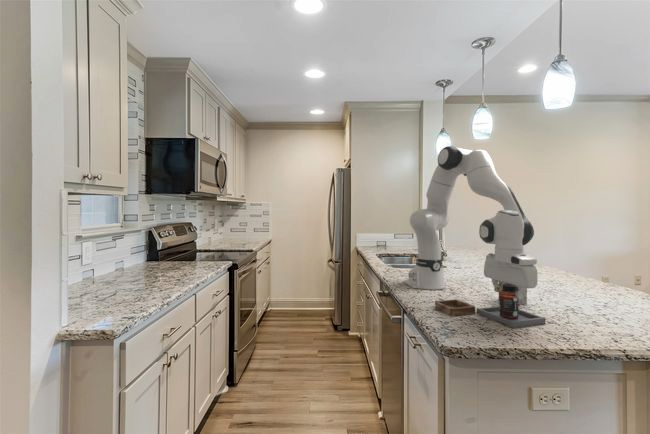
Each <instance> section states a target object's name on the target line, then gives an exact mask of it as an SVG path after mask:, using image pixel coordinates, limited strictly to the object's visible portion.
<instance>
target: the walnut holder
mask: <svg viewBox="0 0 650 434" xmlns="http://www.w3.org/2000/svg"><path fill="white" fill-rule="evenodd" d="M434 308H435V309H436V310H437V311H440V312H442V313H444V314H446V315H449V316H453V317H455V316H457V317H458V316H465V315H474V314H476V306H475V305H473V304H471V303H468V302H465V301H463V300H460V299H447V300H446V299H445V300H444V299H443V300H435V301H434Z"/></svg>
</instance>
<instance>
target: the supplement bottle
mask: <svg viewBox="0 0 650 434" xmlns="http://www.w3.org/2000/svg"><path fill="white" fill-rule="evenodd" d="M515 289H516V286H515V285H512V284H503V290H501V291H500V300H499V306H500V316H502V317H504V318H508V319H516V318H518V315H519V308H520V307H519V305H520V304H519V299H517V298H516V297H515V296H516V295H515V293H518V292H517V291H516V290H515Z"/></svg>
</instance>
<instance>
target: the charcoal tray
mask: <svg viewBox="0 0 650 434" xmlns="http://www.w3.org/2000/svg"><path fill="white" fill-rule="evenodd" d="M476 315H478V316H481V317H483V318H486V319H488V320H491V321H493V322H496V323H498V324H501V325H503V326H505V327H508V328H509V329H519V328H526V327H533V326H534V327H535V326H540V325H541V326H543V325H546V317H543V316H540V315H538V314H536V313H535V314H534V313H531V312H529V311H525V310H523V309H519V315H518V318H516V319H508V318H504V317H502V316H500V305H498V306H495V305H494V306H487V307H486V306H485V307H480V308H476Z"/></svg>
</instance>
